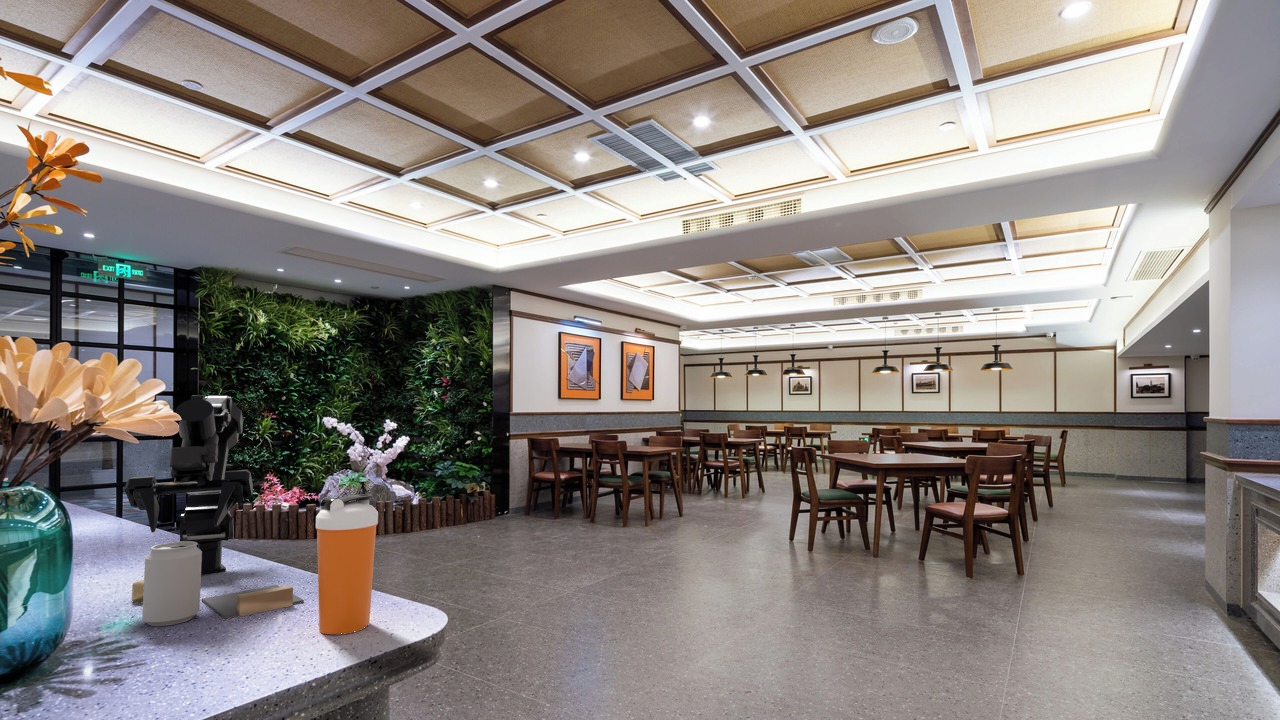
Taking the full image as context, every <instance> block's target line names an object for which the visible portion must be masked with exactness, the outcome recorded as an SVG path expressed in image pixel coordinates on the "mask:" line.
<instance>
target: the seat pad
mask: <svg viewBox="0 0 1280 720" xmlns="http://www.w3.org/2000/svg"><path fill="white" fill-rule="evenodd" d="M278 587H280V586H279V585H277V584H275V585H274V584H273V585H269V586H263V587H258V588H251V589H247V590H246V589H245V590H241V591H237V592H236V591H235V592H232V593H225V594H220V595H215V596H209V597H202V598H201V602H202V603H204V605H206V606H208V607H209V608H210V609H211V610H213V611H214V612H216V613H217V614H218V615H219V616H221V617H222V618H223V619H225V620H226V619H231V618H235V617H240V616H239V613H238V612H236V602H237V595H241V594H246V593H251V592H256V591H262V590H267V589H272V588H278ZM300 602H303V603H304V602H305V600H304V599H303V598H301V597H299V596H297V595H296V594H294V593H293V605H298V604H301V603H300Z"/></svg>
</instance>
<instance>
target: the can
mask: <svg viewBox="0 0 1280 720" xmlns="http://www.w3.org/2000/svg"><path fill="white" fill-rule="evenodd" d="M197 544H198V543H197V542H194V541H180V540H179V541H171V542H163V543H159V544H155V545H153V546H150V552H149V553H148V554H147V555H146V556H145V557H144V570H143V571H144V574H143V575H144V577H143V580H144V592H143V603H142V616H141V617H142V621H143V622H145V623H147V624H148V625H149V626H153V627H154V626H155V627H164V626H173V625H178V624H182V623H185V622H188V621H189V620H192V619H193V618H194V616H196V615H197V614H198V613H199V612H200V607H201V606H200V604H201V584H202V583H201V582H202V581H201V579H202V574H201V561H202V551H201V550H200V549H199V548H197V547H196V546H197Z"/></svg>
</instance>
